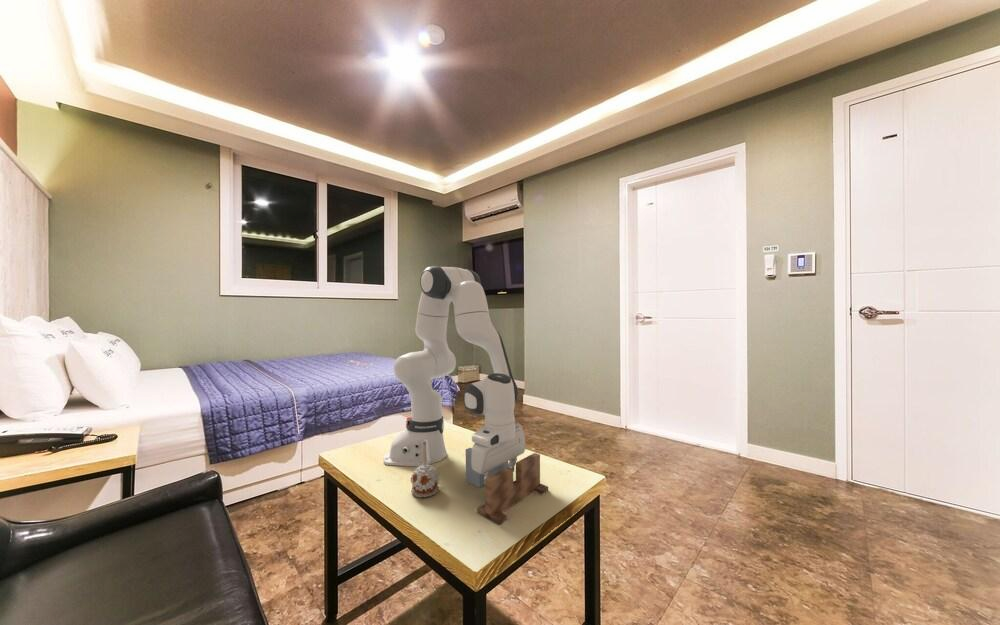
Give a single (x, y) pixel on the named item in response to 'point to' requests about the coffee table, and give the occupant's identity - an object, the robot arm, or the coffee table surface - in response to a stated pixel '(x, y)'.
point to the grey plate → (476, 477)
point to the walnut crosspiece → (511, 488)
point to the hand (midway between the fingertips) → (500, 477)
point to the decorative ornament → (424, 479)
